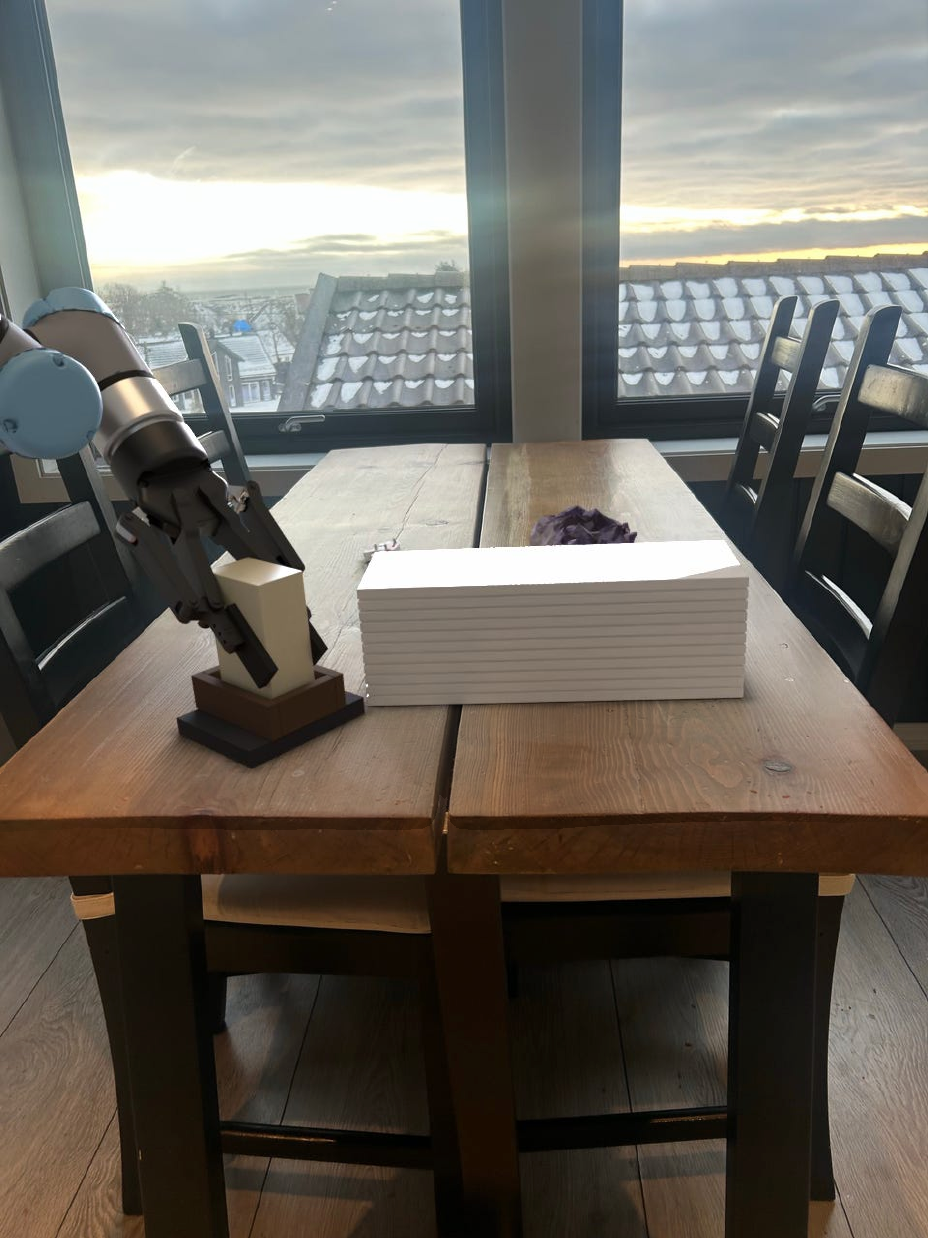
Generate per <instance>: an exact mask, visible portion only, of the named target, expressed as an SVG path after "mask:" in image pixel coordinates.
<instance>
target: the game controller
mask: <svg viewBox="0 0 928 1238" xmlns="http://www.w3.org/2000/svg"><path fill="white" fill-rule="evenodd" d="M373 547H374V548H370V549H367V550H364V551H362V556H363V558H364V561H365V562H370V561H371V559H372V557H373V555H374V553H375V552H398V551H402V547H401V544H400V541H399V540H397V539H396V538H395V537H393V538H392V540H390V541H385V542H381V543H379V544H378V545H377V543H376V544H374V545H373ZM410 551H413V549H411V550H410ZM420 551H423V550H421V549H420Z"/></svg>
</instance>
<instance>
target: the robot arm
mask: <svg viewBox="0 0 928 1238" xmlns="http://www.w3.org/2000/svg"><path fill="white" fill-rule="evenodd" d="M91 442H92V444H93V445H94V447H95V448H96V450H97V451H98V453H99V455H100V456H101V457H102V459H103V460H104V462H105V464H106V465H107V466H109V469H110V473H111V474H112V475H113V477H114V479H115V481H116V482H117V484H118V485H119V486H120V488H121V489H122V491H123V494H125V496H126V498H127V500H128V501H130V503H132V504H133V510H132V511H130V510H124V511H122V512H121V513H120V516H119V518H118V521H117V523H116V526H115V528H114V530H113V536H114V538H115V539H116V540H117V541H119V542H120V543H121V544H123V546H125V547H126V548H127V549H128V550H129V551H131V552H132V553H133V555H134V556H135V558H136V560H137V561H138V562H139V564H140V565H141V567H142V569H143V571H145V573H146V574H147V576H148V578H149V579H150V580H151V582H152V583H153V584H152V585H154V587H155V588H156V590H157V591H158V593H159V594H160V595H161V597H162V599H163V600H164V602H165V603H166V605H167V606H168V608H169V609H170V611H171V613H172V614H173V615H174V617H175V619H176V620H177V621H178V622H179V623H180V624H183V625H188V624H190V623H191V622H197V625H198V627H200V628H201V629H205V630H207V629H210V630H211V631H212V633H213V635H214V637H215V636H216V638H217V639H218V641H219V642H220V644H221V646H222V647H223V649H224V650H225V651H226V652H227V653H229V654H232V653H236V654H237V656H238V657H239V659H240V660H241V662H242V663H243V665H244V667H245V668H246V670H247V671H248V673H249V674H250V676H251V677H252V679H253V681H254V682H255V684H256V685H257V687H258V688H259V689H261V688H263V687H265V686H267V684H268V683H269V682H270V681H271V679H272V678H273V677H274V675H275V674H276V672H277V671H278V670H279V669H278V667H277V666H276V664H275V663H274V661H273V660H272V658H271V657H270V655H269V654H268V652H267V651H266V650H265V648H264V647H263V645H262V643H261V642H260V640H259V639H258V637H257V636H256V634H255V633H254V631H253V630H252V628H251V627H250V625H249V624H248V622H247V620H246V619H245V617H244V616H243V614H242V613H241V611H240V610H239V608H238V607H237V605H236V604H235V603H233V604H230V605H228V606H227V607H226V609H225V608H224V600H223V597H222V595H221V592H220V589H219V587H218V584H217V582H216V579H215V576H214V574H213V571H212V569H213V568H212V566H211V564H210V561H209V559H208V555H207V554H206V550H205V548H204V546H203V543H202V540H201V537H208V538H209V539H210V540H211V541H212V542H213V544H215V545H216V546H222V548H223V549H224V550H225V551H226V552H227V553H228V554H229V555H230V556H231V557H232V558H233V559H234V560H235V561H238V560H242V559H245V558H248V557H249V558H253V559H257V560H261V561H265V562H269V563H273V564H277V565H281V566H285V567H288V568H292V569H296V570H300V571H302V573H304V572H305V570H306V565H305V563H304V562H303V560H302V558H301V557H300V556H299V554H298V553H297V551H296V550H295V549H294V548H295V547H294V546H293V545H292V543H291V542H290V540H289V539H288V538H287V535H286V534H285V533H284V531H283V530H282V528H281V527H280V525H279V524H278V522H277V521H276V519H275V518H274V516H273V514H272V513H271V512H270V510H269V508H268V507H267V505H266V503H265V502H264V499H263V495H262V491H261V488H260V485H259V483H258V482H257V481H255V480H248V481H246V483H245V485H244V486H242V485H232V484H228V482H227V481H226V480H225V479H224V478H223V477H221V476H219V474H217V473H216V472H215V471H214V470H213V468H212V464H211V462H210V458H209V456H208V454H207V452H206V450H205V449H204V447H203V445H202V444H201V443H200V441H199V440H198V438H197V437H196V436H195V433H194V432H193V431H192V429H191V428H190V427H189V426H188V424H186V423H185V419H184V416H183V415H182V413H181V412H180V410H179V409H178V408H177V406H176V405H175V403H174V402H173V401H172V399H171V398H170V396H169V395H168V393H167V392H166V391H165V389H164V387H163V386H162V385H161V383H159V381H158V380H157V378H156V377H155V375H154V374H153V372H152V370H151V369H150V367H149V366H148V365H147V363H146V361H145V360H144V358H143V357H142V355H141V354H140V353H139V351H138V349H137V348H136V346H135V345H134V343H133V341H132V340H131V338H130V337H129V334H128V332H127V330H126V328H125V326H124V325H123V324H122V323H121V321H119V319H118V318H117V317H116V316H115V315H114V313H113V312H112V311H111V309H110V308H109V306H107V304H105V303H104V301H103V300H102V299H101V297H99V295H97V294H96V293H94V292H92V291H91V290H89V289H85V288H82V287H76V286H66V287H60V288H55V289H53V290H51V291H49V294H48V296H46V297H44V298H37V299H36V300H34V301H33V302H32V303H31V304H30V306H29V307H27V310H26V311H25V312H24V315H23V318H22V323H21V328H20V327H19V326H18V325H17V324H15V323H14V322H13V321H11V320H10V319H9V318H7V317H5V316H4V315H3V314H2V313H0V449H4V450H6V451H10V452H11V453H13V454H14V455H16V456H18V457H20V458H23V459H27V460H49V461H50V460H51V461H52V460H53V461H54V460H62V459H66V458H69V457H71V456H72V457H73V456H74V455H76V454H79V452H80V451H82V450H84V449H85V448H86V447H87V446H88V445H89V444H90V443H91ZM229 503H231V504H232V506H233V508H232V506H230V505H229ZM241 521H242V522H241ZM242 523H243V524H242ZM153 528H154V529H156V530H158V531H160V532H162V533H164V534H165V535H166V539H167V541H168V544H169V547H170V549H171V552H172V554H173V555H174V556H176V557H177V560H178V562H179V565H180V567H179V566H178V564H177V562H176V561H175V560H174V559H173V557H172V555H171V553H170V552H169V551H168V549H167V548H166V547H165V545H164V544H163V541H161V539H160V538H159V536H158V534H157V533H156V532H155V530H154V529H153ZM306 608H307V616H308V625H309V634H310V643H311V651H312V660H313V666H314V665H318V663H319V662H320V660H321V659H322V658H323V656H325V653H327V651H328V650H329V648H328V646H327V645H326V643H325V641H324V640H323V638H322V637H321V636H320V634H319V632H318V631H317V629H316V628H315V626H314V625H313V624H312V622H311V621H310V620H311V618H312V617H313V616H312V611H311V609H310V608H309V606H308V605H307V604H306Z"/></svg>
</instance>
